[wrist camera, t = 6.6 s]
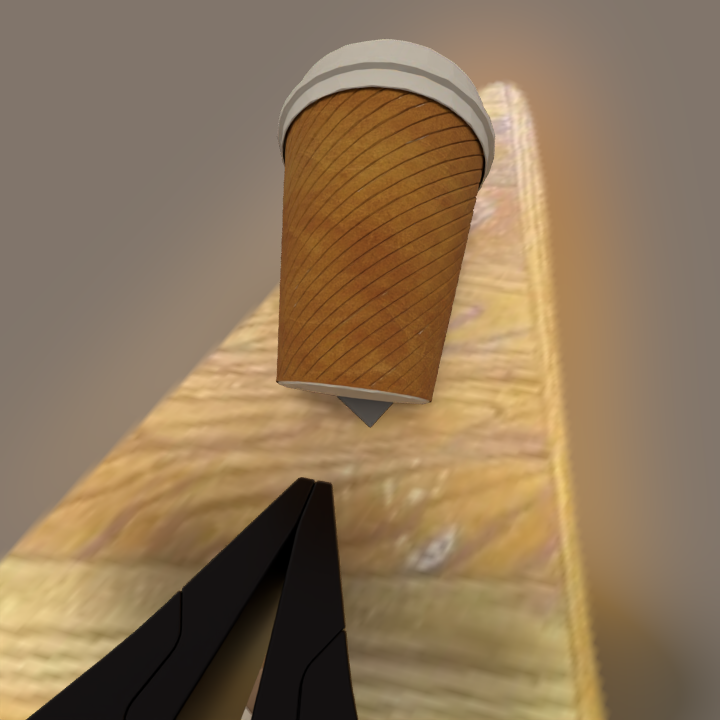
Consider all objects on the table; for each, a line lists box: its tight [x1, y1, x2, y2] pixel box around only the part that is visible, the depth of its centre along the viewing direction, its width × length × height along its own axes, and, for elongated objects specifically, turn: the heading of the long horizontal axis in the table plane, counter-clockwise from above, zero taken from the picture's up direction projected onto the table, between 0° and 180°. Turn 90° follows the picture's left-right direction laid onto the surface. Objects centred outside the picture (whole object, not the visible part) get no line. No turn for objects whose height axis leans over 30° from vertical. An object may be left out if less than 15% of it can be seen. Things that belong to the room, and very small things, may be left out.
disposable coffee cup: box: [276, 39, 495, 404], centre depth 16 cm, size 10×10×12 cm
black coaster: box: [337, 396, 393, 428], centre depth 18 cm, size 4×4×1 cm
